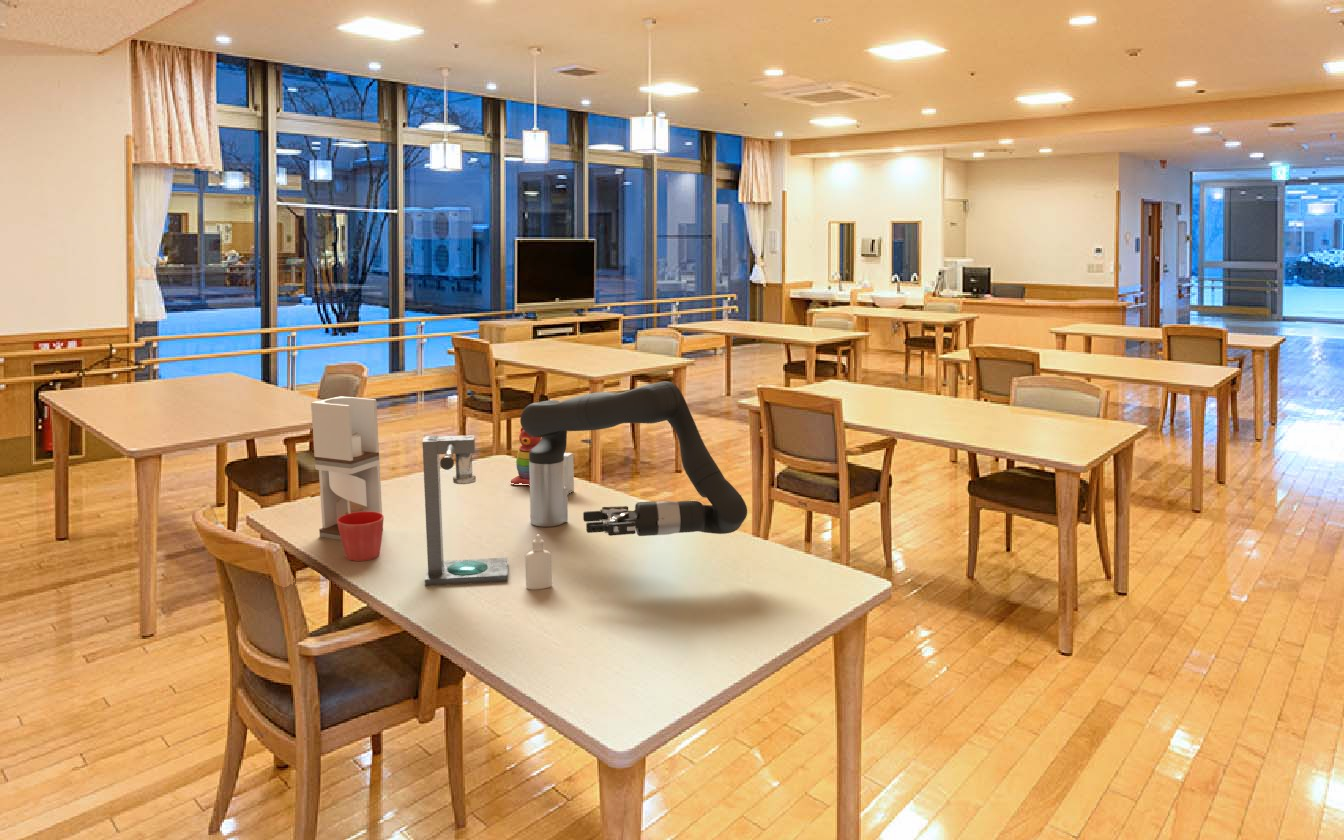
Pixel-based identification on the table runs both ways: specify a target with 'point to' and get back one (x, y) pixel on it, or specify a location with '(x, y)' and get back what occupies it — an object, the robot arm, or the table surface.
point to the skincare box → (568, 472)
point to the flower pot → (361, 534)
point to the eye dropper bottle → (538, 566)
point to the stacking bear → (524, 457)
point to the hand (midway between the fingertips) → (584, 522)
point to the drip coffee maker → (346, 458)
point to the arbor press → (437, 567)
